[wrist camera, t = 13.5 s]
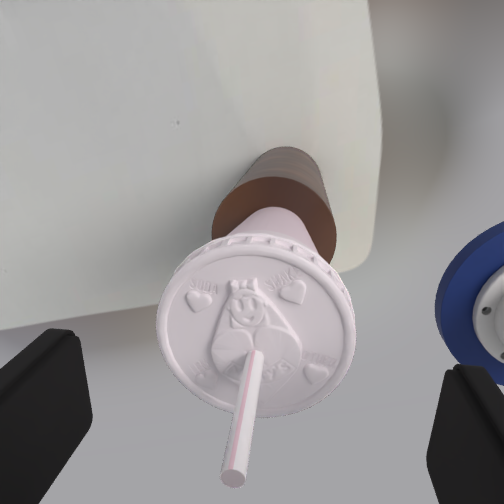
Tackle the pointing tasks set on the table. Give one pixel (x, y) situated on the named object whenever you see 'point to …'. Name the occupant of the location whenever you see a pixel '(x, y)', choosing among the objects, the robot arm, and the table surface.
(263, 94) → the table surface
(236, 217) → the stand
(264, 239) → the smoothie
